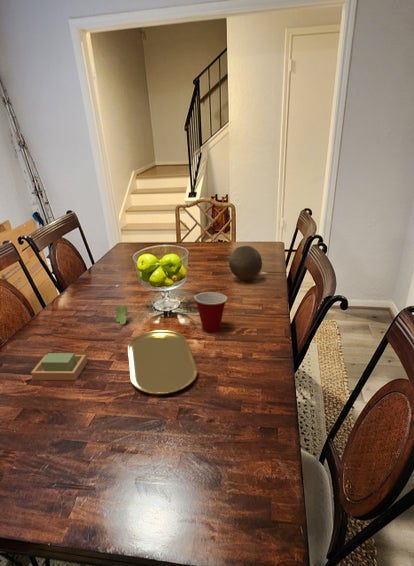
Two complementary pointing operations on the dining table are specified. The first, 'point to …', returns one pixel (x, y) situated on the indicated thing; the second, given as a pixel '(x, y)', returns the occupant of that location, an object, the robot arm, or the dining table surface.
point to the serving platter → (161, 362)
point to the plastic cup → (210, 310)
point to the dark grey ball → (245, 262)
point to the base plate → (59, 375)
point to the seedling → (121, 314)
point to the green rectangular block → (59, 362)
